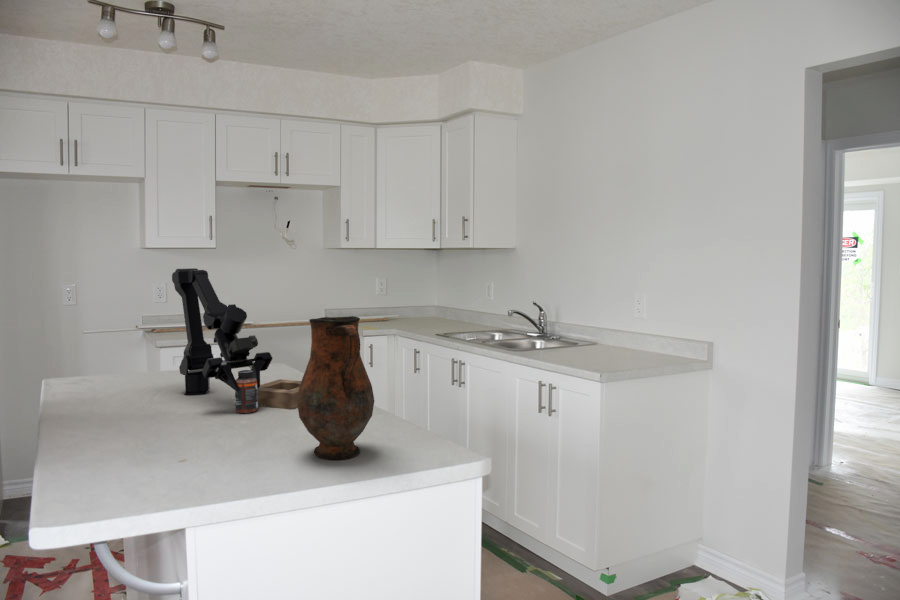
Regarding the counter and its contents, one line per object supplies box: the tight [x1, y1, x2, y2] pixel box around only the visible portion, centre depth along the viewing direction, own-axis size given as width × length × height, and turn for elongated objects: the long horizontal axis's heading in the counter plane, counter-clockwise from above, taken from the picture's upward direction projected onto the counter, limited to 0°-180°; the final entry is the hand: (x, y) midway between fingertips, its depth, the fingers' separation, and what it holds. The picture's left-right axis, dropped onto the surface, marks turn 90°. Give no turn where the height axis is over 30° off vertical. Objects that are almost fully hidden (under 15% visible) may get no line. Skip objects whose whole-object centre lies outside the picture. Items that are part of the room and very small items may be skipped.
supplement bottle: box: [234, 369, 259, 414], centre depth 186 cm, size 6×6×11 cm
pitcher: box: [297, 315, 375, 461], centre depth 145 cm, size 17×21×30 cm
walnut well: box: [257, 378, 302, 410], centre depth 199 cm, size 16×16×4 cm
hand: (248, 388), depth 185 cm, fingers closed on supplement bottle, 6 cm apart
